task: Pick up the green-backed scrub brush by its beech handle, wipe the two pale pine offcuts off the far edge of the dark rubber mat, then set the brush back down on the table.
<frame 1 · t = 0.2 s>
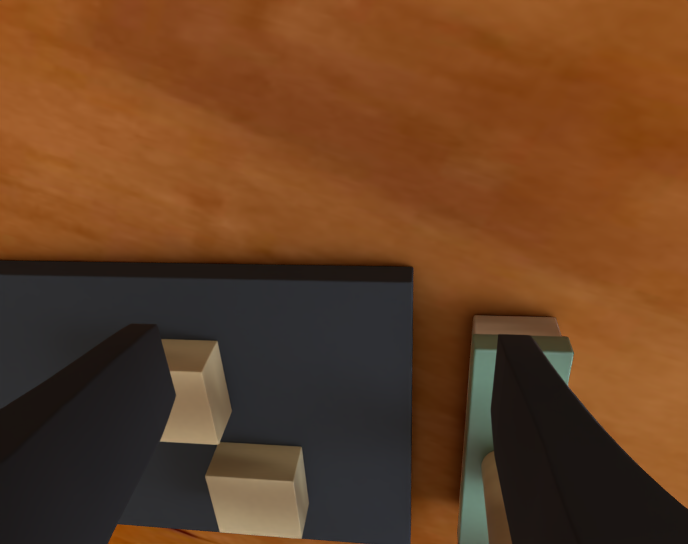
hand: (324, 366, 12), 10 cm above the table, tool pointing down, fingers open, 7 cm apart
mat: (202, 406, 28), on the table
brush: (501, 421, 26), on the table
offcut a: (265, 472, 28), point 1 cm above the table, touching mat
offcut b: (181, 375, 25), point 1 cm above the table, touching mat
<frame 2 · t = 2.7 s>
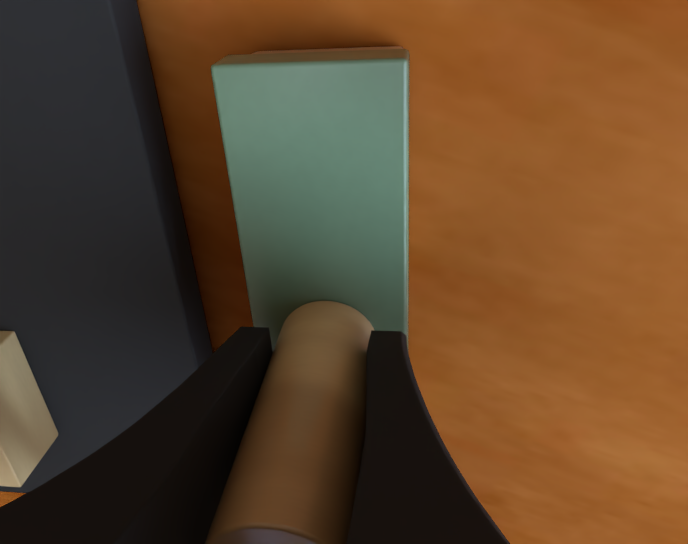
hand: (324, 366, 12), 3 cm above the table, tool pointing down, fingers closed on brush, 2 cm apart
brush: (342, 281, 15), on the table, touching gripper
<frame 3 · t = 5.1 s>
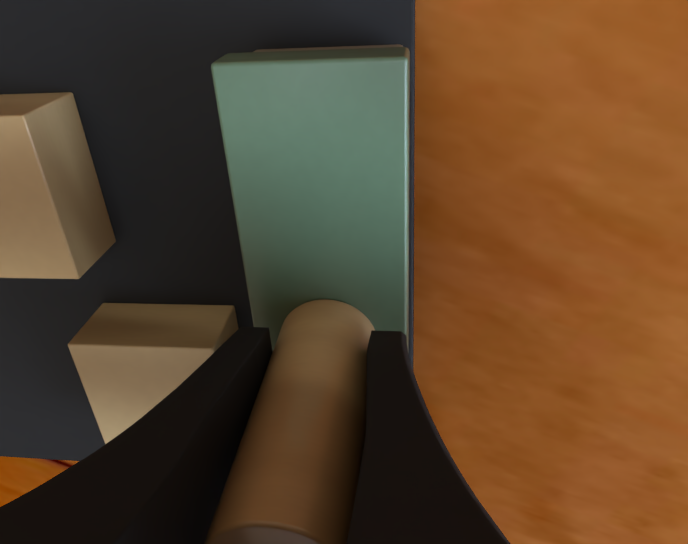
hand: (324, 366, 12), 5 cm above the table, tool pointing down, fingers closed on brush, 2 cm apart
mat: (81, 251, 17), on the table
brush: (342, 280, 15), point 1 cm above the table, touching gripper
offcut a: (181, 357, 18), point 1 cm above the table, touching mat
offcut b: (24, 172, 15), point 1 cm above the table, touching mat
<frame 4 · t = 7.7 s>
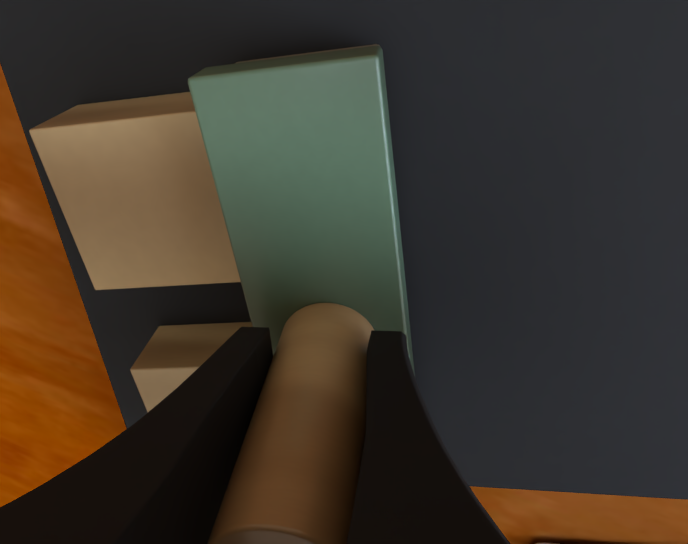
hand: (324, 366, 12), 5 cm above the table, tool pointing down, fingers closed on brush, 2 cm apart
mat: (427, 256, 16), on the table
brush: (343, 283, 15), point 1 cm above the table, touching gripper, offcut a
offcut a: (238, 375, 18), point 1 cm above the table, touching brush
offcut b: (178, 176, 14), point 1 cm above the table
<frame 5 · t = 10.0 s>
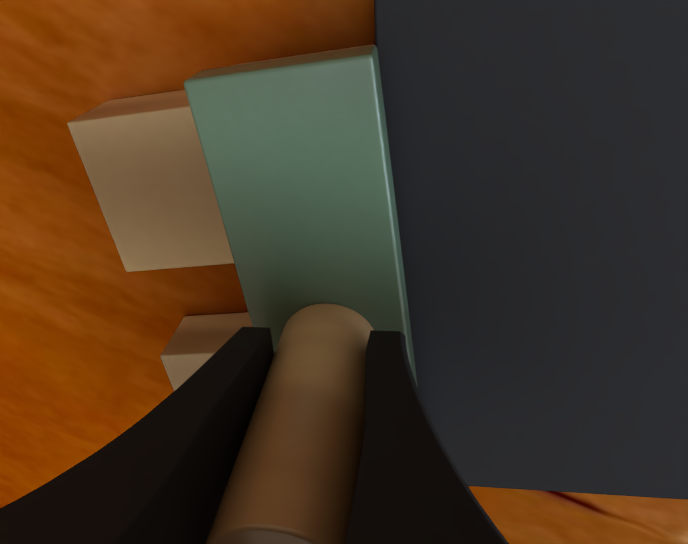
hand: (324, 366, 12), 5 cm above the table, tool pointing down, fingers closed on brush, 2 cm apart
brush: (344, 284, 15), point 1 cm above the table, touching gripper, offcut a, offcut b
offcut a: (258, 362, 19), on the table, touching brush
offcut b: (201, 165, 15), on the table, touching brush
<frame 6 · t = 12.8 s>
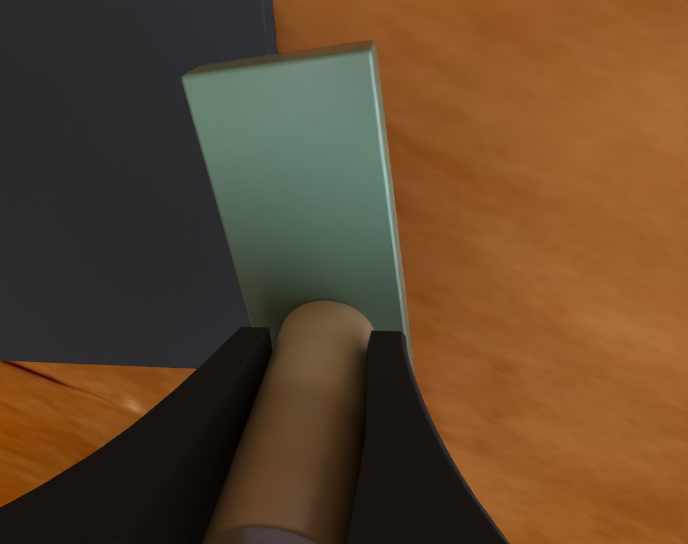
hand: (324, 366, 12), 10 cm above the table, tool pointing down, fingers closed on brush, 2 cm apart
mat: (40, 185, 22), on the table
brush: (342, 281, 15), point 7 cm above the table, touching gripper
when the fingers open (3 cm above the table, at t = 14.6 s): brush stays where it is, on the table.
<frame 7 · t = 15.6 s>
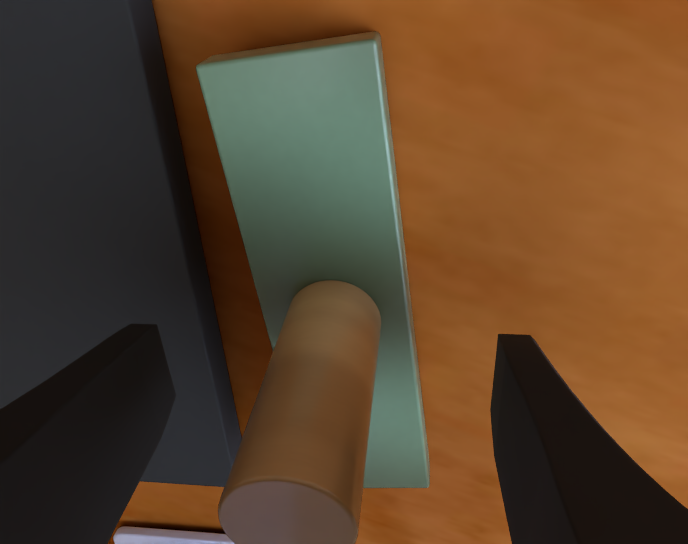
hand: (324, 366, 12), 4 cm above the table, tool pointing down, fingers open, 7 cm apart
brush: (347, 265, 16), on the table
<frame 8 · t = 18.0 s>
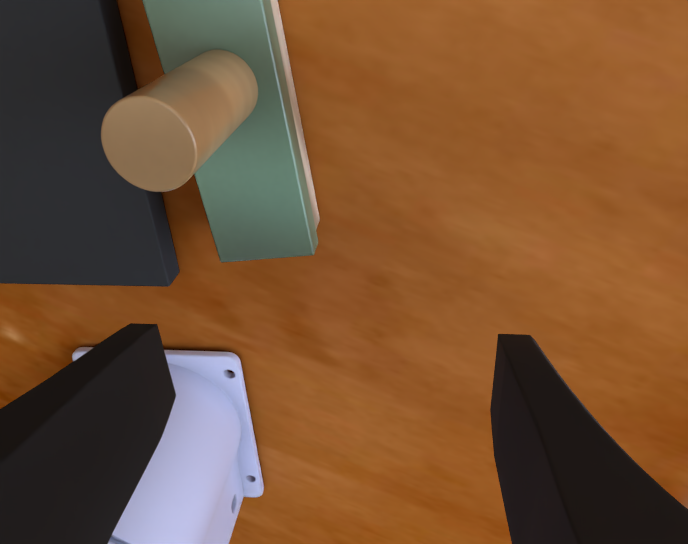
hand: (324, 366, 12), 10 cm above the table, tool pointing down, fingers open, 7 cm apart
brush: (245, 70, 19), on the table
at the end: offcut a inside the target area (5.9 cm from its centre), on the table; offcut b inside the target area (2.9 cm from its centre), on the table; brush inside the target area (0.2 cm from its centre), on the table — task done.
